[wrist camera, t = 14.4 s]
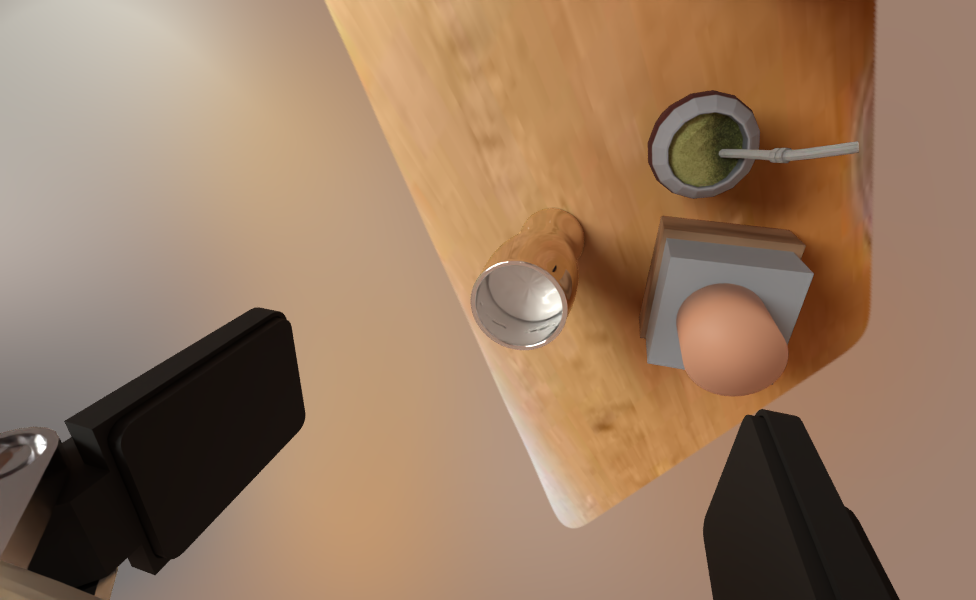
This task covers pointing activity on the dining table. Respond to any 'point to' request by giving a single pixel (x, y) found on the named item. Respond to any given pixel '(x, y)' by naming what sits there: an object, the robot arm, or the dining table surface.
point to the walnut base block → (711, 234)
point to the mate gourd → (715, 145)
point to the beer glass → (530, 282)
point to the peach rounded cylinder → (730, 340)
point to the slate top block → (704, 264)
